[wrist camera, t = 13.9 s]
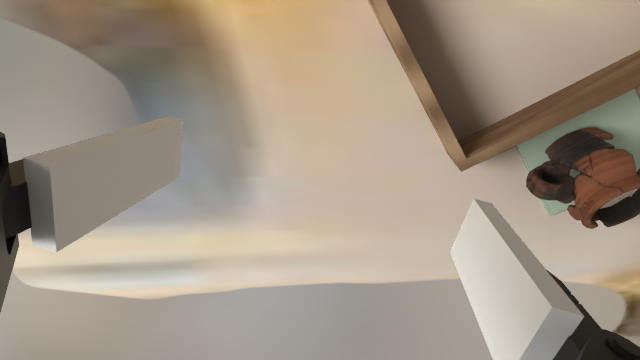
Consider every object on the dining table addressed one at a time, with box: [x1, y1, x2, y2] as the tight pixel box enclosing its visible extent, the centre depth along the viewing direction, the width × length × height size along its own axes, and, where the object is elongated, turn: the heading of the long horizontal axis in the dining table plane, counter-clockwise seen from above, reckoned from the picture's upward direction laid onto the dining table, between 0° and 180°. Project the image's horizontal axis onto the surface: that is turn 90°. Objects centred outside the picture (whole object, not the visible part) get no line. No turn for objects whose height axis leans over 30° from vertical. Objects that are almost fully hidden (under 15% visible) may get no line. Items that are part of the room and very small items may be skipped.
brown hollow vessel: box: [526, 127, 640, 229], centre depth 36 cm, size 12×9×8 cm
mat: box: [517, 88, 640, 216], centre depth 37 cm, size 11×12×1 cm
